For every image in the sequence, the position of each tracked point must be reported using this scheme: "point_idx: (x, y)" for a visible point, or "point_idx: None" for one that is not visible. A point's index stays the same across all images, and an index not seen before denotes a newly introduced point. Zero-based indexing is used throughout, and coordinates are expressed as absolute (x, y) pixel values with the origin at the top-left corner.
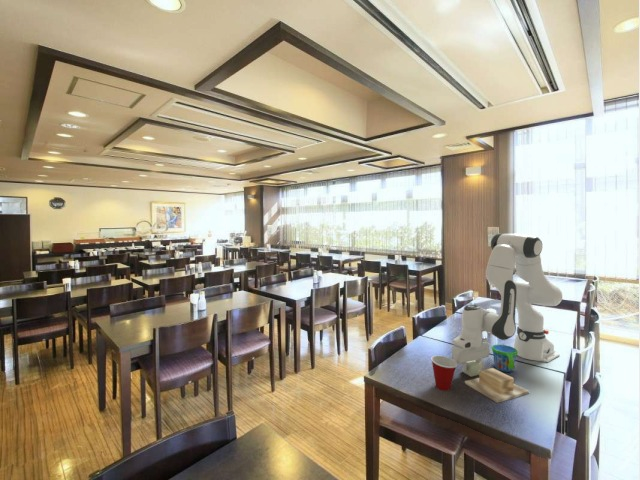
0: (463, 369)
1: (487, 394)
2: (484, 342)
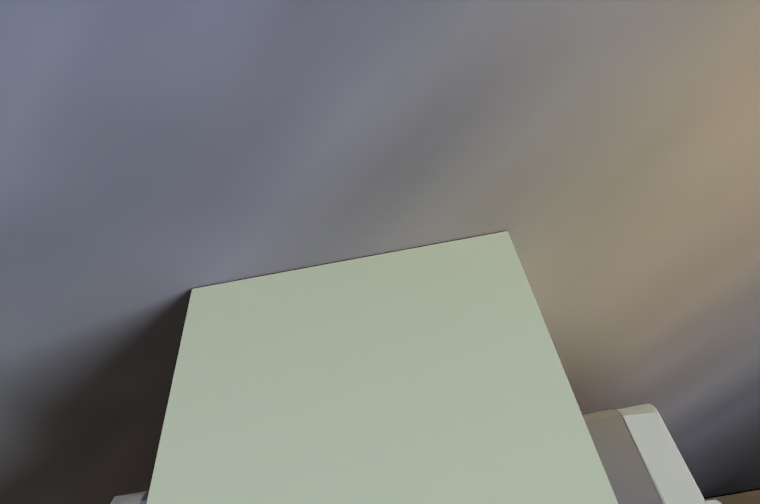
0: (118, 499)
1: None
2: None
